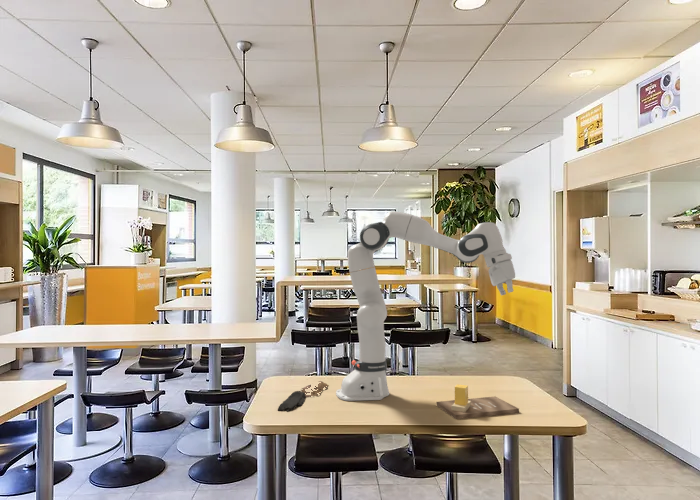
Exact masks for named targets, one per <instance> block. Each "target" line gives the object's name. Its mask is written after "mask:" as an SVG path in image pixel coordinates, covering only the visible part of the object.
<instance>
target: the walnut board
mask: <svg viewBox="0 0 700 500" xmlns="http://www.w3.org/2000/svg"><path fill="white" fill-rule="evenodd" d="M468 401H471V406H470V407H469V408H468V409H467V410H466V412H461V411H454V410H452V405H453V404H454V403H455V399H452V400H444V401H443V400H441V401H436V404H435V405H436V407H438V408H439V409H440V410H442V411H443V412H445V414H448V415H449V416H450V417H452V418H453V419H455V420H459V419H460V420H461V419H462V420H463V419H470V418H482V417H490V416H491V417H492V416H501V415H511V414H518V413H519V414H520V408H518V407H517V406H515V405H513V404H511V403H509V402H507V401H505V400H503V399H501V398H500V397H497V396H496V395H495V396H485V397H475V398H468Z"/></svg>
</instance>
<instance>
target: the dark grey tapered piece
mask: <svg viewBox="0 0 700 500" xmlns="http://www.w3.org/2000/svg"><path fill="white" fill-rule="evenodd" d="M306 398H307V397H306V395H305V393H303V392H302V391H301V390H296V391H293V392H292V393H291V394H290V395H289V396H288V397H287V398H286V399H285V400H283V401H282V403H281V404H279V406H278V408H277V411H278V412H285V411H286V412H290V411H291V412H292V410H294V409H295V408H297V407H302V406H303V404H304V403H305V402H306Z"/></svg>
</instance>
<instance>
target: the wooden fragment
mask: <svg viewBox="0 0 700 500" xmlns="http://www.w3.org/2000/svg"><path fill="white" fill-rule="evenodd" d="M318 382H321V383H319V384H318V387H316V386H315V387H316V388H314V389H315V390H317V389H318V390H317V391H313V390H312V389H311V390H312V391H313V392H311V395H306V394H307V393H310V392H306V391H305V389H308V388H310V387H311V384H309V385H306V386H304V387H301V389H303V390H301V389H300V391H301V392H303V393H306V394H305V395H306V398H312V397H311V396H317V397H319V396H318V394H317V393H319V392H321V391H322V390H323V388H324V387H325V388H326V390H327V388H328V387H330V385H329V384H327V383H326V382H324V381H321V380H320V381H318ZM326 386H328V387H326ZM307 387H308V388H307ZM328 389H329V388H328ZM323 391H324V390H323ZM323 391H322V392H323ZM319 394H321V395H322V393H319Z"/></svg>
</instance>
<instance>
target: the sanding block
mask: <svg viewBox="0 0 700 500" xmlns="http://www.w3.org/2000/svg"><path fill="white" fill-rule="evenodd" d="M468 399H469V385H466V384H459V383H457V384H456V385H455V386H454V400H455V403H454V404H453V405H452V410H454V411H461V412H466V410H467V409H468V408H469V407H470V406H471V401H468Z"/></svg>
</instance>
